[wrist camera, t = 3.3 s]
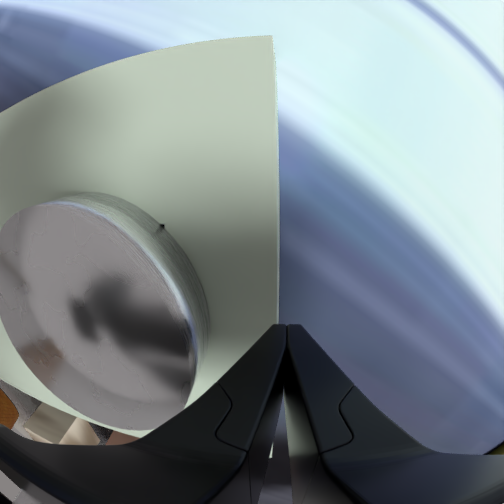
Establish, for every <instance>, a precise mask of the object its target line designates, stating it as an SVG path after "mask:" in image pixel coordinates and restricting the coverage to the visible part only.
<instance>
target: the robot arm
mask: <svg viewBox="0 0 504 504" xmlns="http://www.w3.org/2000/svg"><path fill="white" fill-rule="evenodd" d="M283 390H284V404H285V415H286V426H287V437H288V448H289V460H290V472H291V485H292V498H293V504H504V455H467V454H450V453H441V452H437V451H434V450H431V449H429V448H427V447H425V446H423V445H422V444H421V443H419V442H418V441H417V440H415V439H414V438H413V437H412V436H410V435H409V434H408V433H407V432H405V431H404V430H403V429H402V428H401V427H399V426H398V425H397V424H396V423H394V422H393V421H392V420H391V419H390V418H388V417H387V416H386V415H385V414H384V413H383V412H381V411H380V410H379V409H378V408H377V407H376V406H375V405H374V404H373V403H372V402H371V401H370V400H369V399H368V398H367V397H366V396H365V395H364V394H363V393H362V392H361V391H360V390H359V389H358V388H357V387H356V386H354V383H353V382H352V381H351V380H350V379H349V378H348V377H347V376H346V375H345V373H344V372H343V371H342V370H341V369H340V368H339V367H338V366H337V365H336V363H335V362H334V361H333V360H332V359H331V358H330V357H329V356H328V355H327V353H326V352H325V351H324V350H323V349H322V348H321V347H320V346H319V344H318V343H317V342H316V341H315V340H314V339H313V338H312V337H311V335H310V334H309V333H308V332H307V331H306V330H305V329H304V328H303V327H302V325H299V324H289V325H287V326H286V325H285V324H273V325H271V326H270V328H269V329H268V330H267V331H266V332H265V333H264V334H263V335H262V336H261V337H260V338H259V339H258V340H257V341H256V342H255V343H254V344H253V345H252V346H251V347H250V348H249V350H248V351H247V352H246V353H245V354H244V355H243V356H242V357H241V358H240V359H239V360H238V361H237V362H236V363H235V364H234V365H233V366H232V367H231V368H230V369H229V370H228V371H227V372H226V373H225V374H224V375H223V376H222V377H221V378H220V379H219V380H218V381H217V382H216V383H214V384H213V385H212V386H211V387H210V388H209V389H208V390H207V391H206V392H205V393H204V394H202V395H201V396H200V397H199V398H198V399H197V400H196V401H194V402H193V403H192V404H190V405H189V406H188V407H186V408H185V409H184V410H182V411H181V412H180V413H178V414H177V415H175V416H174V417H172V418H171V419H169V420H168V421H166V422H165V423H163V424H162V425H160V426H159V427H157V428H156V429H154V430H153V431H151V432H150V433H148V434H147V435H145V436H143V437H141V438H139V439H137V440H135V441H132V442H129V443H126V444H119V445H68V444H52V443H44V442H38V441H34V440H30V439H27V438H24V437H22V436H20V435H18V434H16V433H15V432H13V431H12V430H11V429H9V428H8V427H6V426H5V425H3V424H0V470H1V471H2V472H3V473H4V474H5V475H6V476H7V477H8V478H9V479H11V480H12V481H13V482H14V483H15V484H16V485H17V486H18V487H19V488H21V490H20V492H19V493H18V495H17V496H16V498H15V500H14V501H13V502H12V501H11V500H9V499H8V498H7V497H6V496H5V495H3V494H2V493H1V492H0V504H257V503H258V500H259V496H260V492H261V488H262V485H263V481H264V477H265V473H266V469H267V465H268V461H269V457H270V453H271V448H272V444H273V440H274V435H275V431H276V427H277V422H278V417H279V413H280V408H281V403H282V398H283Z"/></svg>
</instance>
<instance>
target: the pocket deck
mask: <svg viewBox="0 0 504 504" xmlns="http://www.w3.org/2000/svg"><path fill="white" fill-rule="evenodd" d="M82 192H98V193H105V194H110V195H113V196H116V197H119V198H122V199H124V200H126V201H128V202H130V203H132V204H134V205H136V206H137V207H139V208H140V209H142V210H143V211H145V212H146V213H148V214H149V215H151V216H152V217H153V218H154V219H155V220H156V221H158V222H159V223H160V224H165V229H166V230H167V231H168V232H169V233H170V234H171V235H172V236H173V238H174V239H175V240H176V241H177V242H178V244H179V245H180V247H181V248H182V249H183V251H184V252H185V253H186V255H187V256H188V258H189V260H190V262H191V263H192V265H193V267H194V268H195V270H196V272H197V275H198V277H199V279H200V281H201V283H202V286H203V289H204V292H205V295H206V298H207V302H208V307H209V313H210V324H211V333H210V342H209V346H208V350H207V353H206V356H205V359H204V361H203V364H202V366H201V369H200V371H199V374H198V376H197V379H196V381H195V384H194V386H193V389H192V391H191V394H190V396H189V399H188V401H187V403H186V405H185V407H184V409H185V408H186V407H188V406H189V405H190V404H192V403H193V402H194V401H196V400H197V399H198V398H199V397H200V396H201V395H202V394H204V393H205V392H206V391H207V390H208V389H209V388H210V387H211V386H212V385H213V384H214V383H216V382H217V381H218V380H219V379H220V378H221V377H222V376H223V375H224V374H225V373H226V372H227V371H228V370H229V369H230V368H231V367H232V366H233V365H234V364H235V363H236V362H237V361H238V360H239V359H240V358H241V357H242V356H243V355H244V354H245V353H246V352H247V351H248V350H249V348H250V347H251V346H252V345H253V344H254V343H255V342H256V341H257V340H258V339H259V338H260V337H261V336H262V335H263V334H264V333H265V332H266V331H267V330H268V329H269V328H270V326H271V325H273V324H278V320H279V142H278V105H277V77H276V61H275V53H274V44H273V37H272V36H251V37H238V38H227V39H218V40H210V41H203V42H196V43H190V44H185V45H179V46H174V47H169V48H164V49H160V50H155V51H151V52H147V53H143V54H139V55H136V56H132V57H128V58H125V59H122V60H118V61H115V62H112V63H109V64H106V65H103V66H100V67H97V68H94V69H91V70H89V71H86V72H83V73H81V74H78V75H76V76H73V77H71V78H68V79H66V80H64V81H61V82H59V83H57V84H55V85H52V86H50V87H48V88H46V89H44V90H42V91H40V92H38V93H36V94H34V95H32V96H30V97H28V98H26V99H24V100H22V101H20V102H19V103H17V104H15V105H13V106H12V107H10V108H8V109H6V110H5V111H3V112H1V113H0V230H1V228H2V227H3V226H4V224H5V223H6V221H7V220H8V219H9V218H10V217H11V216H13V215H14V214H15V213H17V212H19V211H20V210H22V209H24V208H28V207H31V206H34V205H37V204H41V203H44V202H48V201H51V200H55V199H58V198H62V197H65V196H69V195H73V194H77V193H82ZM0 379H1V380H3V381H5V382H6V383H8V384H10V385H11V386H13V387H15V388H17V389H19V390H20V391H22V392H24V393H26V394H28V395H30V396H32V397H34V398H36V399H38V400H40V401H42V402H44V403H46V404H48V405H50V406H53V407H55V408H57V409H59V410H62V411H64V412H66V413H69V414H71V415H73V416H76V417H78V418H81V419H84V420H86V421H89V422H92V423H94V424H97V425H100V426H103V427H106V428H109V429H112V430H115V431H118V432H121V433H125V434H128V435H132V436H135V437H139V438H141V437H143V436H145V435H147V434H148V433H150V432H151V431H153V430H154V429H151V430H142V431H136V430H125V429H120V428H115V427H112V426H108V425H105V424H102V423H100V422H97V421H95V420H93V419H91V418H89V417H87V416H85V415H83V414H81V413H79V412H78V411H76V410H74V409H73V408H71V407H70V406H68V405H67V404H65V403H64V402H63V401H61V400H60V399H59V398H58V397H56V396H55V395H54V394H53V393H52V392H51V391H50V390H48V389H47V388H46V387H45V386H44V385H43V384H42V383H41V382H40V381H39V380H38V378H37V377H36V376H35V375H34V374H33V373H32V372H31V370H30V369H29V368H28V367H27V365H26V364H25V363H24V361H23V360H22V358H21V357H20V356H19V354H18V352H17V351H16V349H15V347H14V346H13V344H12V342H11V340H10V338H9V336H8V334H7V332H6V330H5V328H4V326H3V323H2V321H1V318H0ZM184 409H183V410H184ZM272 449H273V444H272V448H271V453H270V457H269V458H272Z"/></svg>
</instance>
